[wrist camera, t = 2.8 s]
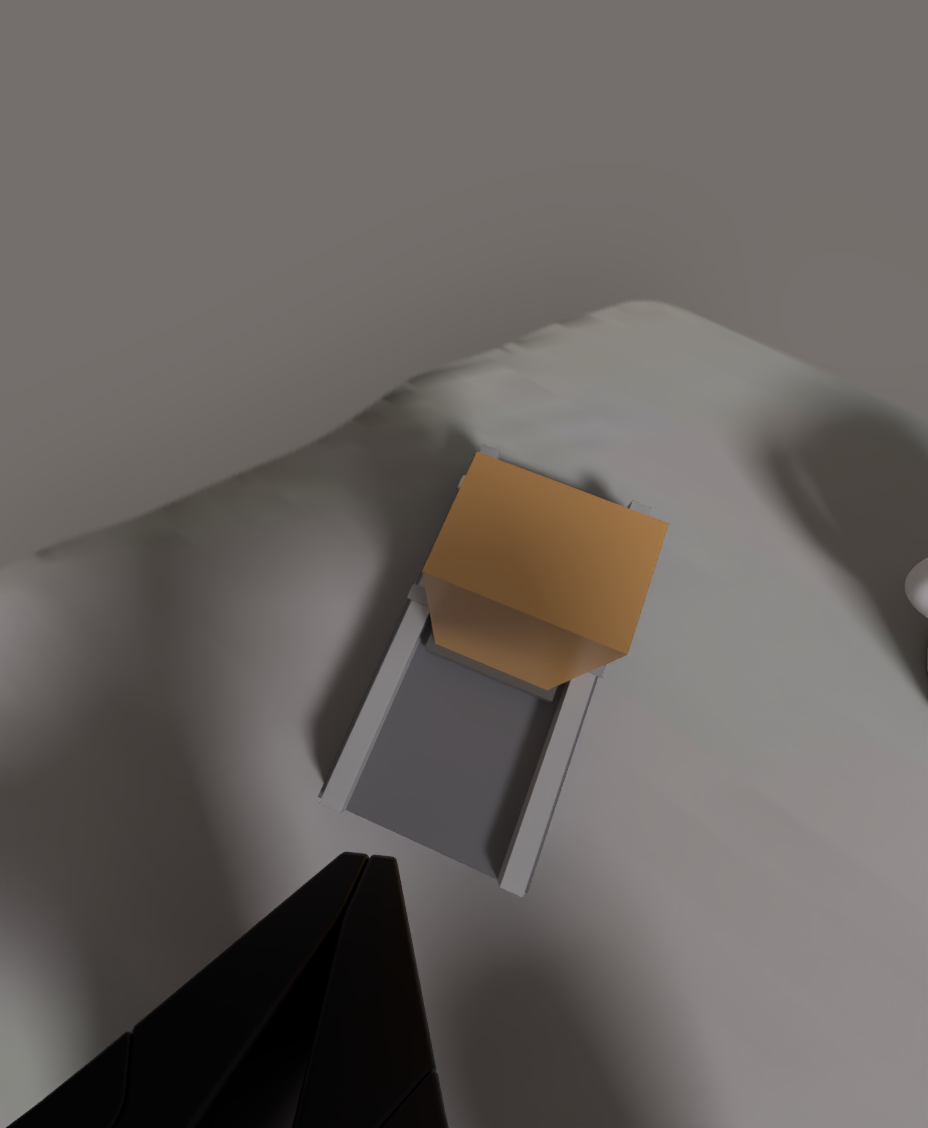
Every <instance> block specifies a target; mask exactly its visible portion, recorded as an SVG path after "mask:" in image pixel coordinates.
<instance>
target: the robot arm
mask: <svg viewBox="0 0 928 1128" xmlns="http://www.w3.org/2000/svg"><path fill="white" fill-rule="evenodd" d="M6 1128H449V1127H448V1123H447V1118H446V1114H445V1109H444V1104H443V1099H442V1093H441V1088H440V1083H439V1077H438V1074H437V1072H436V1065H435V1060H434V1055H433V1049H432V1044H431V1039H430V1033H429V1028H428V1023H427V1018H426V1012H425V1007H424V1002H423V996H422V991H421V986H420V981H419V975H418V970H417V965H416V959H415V954H414V949H413V944H412V938H411V933H410V928H409V922H408V917H407V912H406V907H405V901H404V896H403V891H402V885H401V880H400V875H399V870H398V864H397V860H396V858H394V857H391V856H382V855H372V856H371V857H370V858H369V857H368V855H367V854H363V853H354V852H343V853H342V854H340V855H339V856H338V857H336V858H335V859H334V860H333V861H332V862H330V863H329V864H328V865H327V866H326V867H324V868H323V869H322V870H321V871H320V872H318V873H317V874H316V875H315V876H314V877H312V878H311V879H310V880H309V881H308V882H306V883H305V884H304V885H303V886H302V887H300V888H299V889H298V890H297V891H296V892H295V893H293V894H292V895H291V896H290V897H289V898H287V899H286V900H285V901H284V902H283V903H281V904H280V905H279V906H278V907H277V908H275V909H274V910H273V911H272V912H271V913H269V914H268V915H267V916H266V917H265V918H263V919H262V920H261V921H260V922H259V923H257V924H256V925H255V926H254V927H253V928H251V929H250V930H249V931H248V932H247V933H245V934H244V935H243V936H242V937H241V938H239V939H238V940H237V941H236V942H235V943H233V944H232V945H231V946H230V947H229V948H227V949H226V950H225V951H224V952H223V953H221V954H220V955H219V956H218V957H217V958H215V959H214V960H213V961H212V962H211V963H209V964H208V965H207V966H206V967H205V968H203V969H202V970H201V971H200V972H199V973H197V974H196V975H195V976H194V977H193V978H191V979H190V980H189V981H188V982H187V983H185V984H184V985H183V986H182V987H181V988H180V989H178V990H177V991H176V992H175V993H174V994H172V995H171V996H170V997H169V998H168V999H166V1000H165V1001H164V1002H163V1003H162V1004H160V1005H159V1006H158V1007H157V1008H156V1009H154V1010H153V1011H152V1012H151V1013H150V1014H148V1015H147V1016H146V1017H145V1018H144V1019H142V1020H141V1021H140V1022H139V1023H138V1024H136V1025H135V1026H134V1028H133V1030H132V1034H131V1032H125V1033H124V1034H123V1035H122V1036H120V1037H119V1038H118V1039H117V1040H116V1041H114V1042H113V1043H112V1044H111V1045H110V1046H108V1047H107V1048H106V1049H105V1050H104V1051H102V1052H101V1053H100V1054H99V1055H98V1056H96V1057H95V1058H94V1059H93V1060H92V1061H90V1062H89V1063H88V1064H87V1065H85V1066H84V1067H83V1068H82V1069H80V1070H79V1071H78V1072H77V1073H75V1074H74V1075H73V1076H72V1077H70V1078H69V1079H68V1080H67V1081H65V1082H64V1083H63V1084H62V1085H60V1086H59V1087H58V1088H57V1089H55V1090H54V1091H53V1092H52V1093H50V1094H49V1095H48V1096H47V1097H45V1098H44V1099H43V1100H42V1101H40V1102H39V1103H38V1104H37V1105H35V1106H34V1107H33V1108H31V1109H30V1110H29V1111H27V1112H26V1113H25V1114H23V1115H22V1116H21V1117H19V1118H18V1119H17V1120H15V1121H14V1122H13V1123H11V1124H10V1125H9V1126H7V1127H6Z"/></svg>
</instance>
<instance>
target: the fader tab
mask: <svg viewBox="0 0 928 1128" xmlns="http://www.w3.org/2000/svg"><path fill="white" fill-rule="evenodd" d="M668 525H669V524H668V523H666V522H663V521H660V520H658V519H655V518H653V517H650V516H647V515H645V514H642V513H639V512H637V511H634V510H631V509H629V508H626V507H623V506H621V505H618V504H615V503H613V502H610V501H607V500H605V499H602V498H599V497H597V496H594V495H591V494H589V493H586V492H583V491H581V490H578V489H576V488H573V487H570V486H568V485H565V484H562V483H560V482H557V481H554V480H552V479H549V478H546V477H544V476H541V475H538V474H536V473H533V472H530V471H528V470H525V469H522V468H520V467H517V466H514V465H512V464H509V463H506V462H504V461H501V460H499V459H496V458H493V457H491V456H488V455H485V454H483V453H480V452H476V455H475V457H474V459H473V461H472V463H471V465H470V468H469V470H468V472H467V474H466V476H465V478H464V481H463V483H462V485H461V487H460V489H459V492H458V494H457V496H456V498H455V500H454V502H453V505H452V507H451V509H450V511H449V513H448V516H447V518H446V520H445V522H444V524H443V526H442V529H441V531H440V533H439V535H438V537H437V540H436V542H435V544H434V546H433V548H432V550H431V553H430V555H429V557H428V559H427V561H426V564H425V566H424V568H423V570H422V574H423V580H424V585H425V591H426V596H427V601H428V607H429V612H430V617H431V623H432V628H433V630H432V632H431V635H430V637H429V639H428V642H427V644H426V646H425V651H426V652H429V653H431V654H434V655H436V656H438V657H441V658H443V659H446V660H448V661H450V662H453V663H455V664H457V665H460V666H462V667H465V668H467V669H469V670H472V671H474V672H476V673H479V674H481V675H484V676H486V677H488V678H491V679H493V680H495V681H498V682H500V683H503V684H505V685H507V686H510V687H512V688H514V689H517V690H519V691H522V692H524V693H526V694H529V695H531V696H534V697H536V698H538V699H541V700H543V701H545V702H548V703H549V702H552V700H553V698H554V695H555V692H556V689H557V686H558V685H560V684H562V683H565V682H567V681H569V680H572V679H574V678H576V677H578V676H581V675H583V674H585V673H587V672H590V671H592V670H594V669H596V668H599V667H601V666H603V665H605V664H608V663H610V662H612V661H614V660H617V659H619V658H621V657H623V656H626V655H628V652H629V648H630V645H631V642H632V639H633V636H634V633H635V629H636V626H637V623H638V620H639V617H640V614H641V610H642V607H643V604H644V601H645V598H646V594H647V591H648V588H649V585H650V582H651V579H652V575H653V572H654V569H655V566H656V563H657V560H658V556H659V553H660V550H661V547H662V544H663V540H664V537H665V534H666V531H667V528H668Z"/></svg>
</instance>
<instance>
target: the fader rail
mask: <svg viewBox="0 0 928 1128" xmlns="http://www.w3.org/2000/svg"><path fill="white" fill-rule="evenodd" d="M480 453H483V454H485V455H488V456H491V457H493V458H496V459H499V457H500V450H497V449H494V448H492V447H489V446H486V445H484V444H483V445H482V447H481V449H480ZM475 455H476V454H475ZM475 455H474V457H475ZM473 459H474V458H473ZM472 461H473V460H472ZM471 463H472V462H471ZM470 465H471V464H470ZM469 468H470V466H469ZM469 468H468V470H469ZM467 472H468V471H467ZM466 474H467V473H466ZM465 476H466V475H463V476H462V478H461V480H460V483H459V485H458V487H457V488H458V489H460V487H461V485H462V483H463V481H464V478H465ZM458 492H459V490H458ZM458 492H457V494H458ZM456 496H457V495H456ZM455 498H456V497H455ZM454 500H455V499H454ZM453 502H454V501H453ZM452 505H453V503H452ZM451 507H452V506H451ZM627 508H629V509H631V510H634V511H637V512H639V513H642V514H645V515H647V516H649V513H650V510H651V507H649V506H646V505H644V504H641V503H638V502H636V501H633V500H632V502H631V503H630V504H629V506H628V507H627ZM450 509H451V508H450ZM449 511H450V510H449ZM448 513H449V512H448ZM447 516H448V514H447ZM447 516H446V518H447ZM445 520H446V519H445ZM444 522H445V521H444ZM443 524H444V523H443ZM442 526H443V525H442ZM441 529H442V527H441ZM441 529H440V531H441ZM439 533H440V532H439ZM438 535H439V534H438ZM437 537H438V536H437ZM436 540H437V538H436ZM436 540H435V542H436ZM434 544H435V543H434ZM433 546H434V545H433ZM432 548H433V547H432ZM431 550H432V549H431ZM430 553H431V551H430ZM430 553H429V555H430ZM428 557H429V556H428ZM427 559H428V558H427ZM426 561H427V560H426ZM425 564H426V562H425ZM425 564H424V566H425ZM423 568H424V567H423ZM422 570H423V569H422ZM407 598H408V601H407V604H406V606H405V608H404V610H403V612H402V614H401V617H400V619H399V621H398V623H397V625H396V628H395V630H394V632H393V634H392V636H391V638H390V641H389V643H388V645H387V647H386V649H385V652H384V654H383V656H382V658H381V660H380V662H379V665H378V667H377V669H376V671H375V673H374V676H373V678H372V680H371V682H370V684H369V686H368V689H367V691H366V693H365V695H364V697H363V699H362V702H361V704H360V706H359V708H358V710H357V713H356V715H355V717H354V719H353V721H352V723H351V726H350V728H349V730H348V732H347V734H346V737H345V739H344V741H343V743H342V745H341V747H340V750H339V752H338V754H337V756H336V758H335V761H334V763H333V765H332V767H331V769H330V771H329V774H328V776H327V778H326V780H325V782H324V784H323V787H322V789H321V791H320V793H319V795H318V797H319V798H321V800H320V802H319V804H320V805H322V806H324V807H327V808H329V809H331V810H333V811H335V812H338V813H342V812H343V811H344V810H348V811H350V812H352V813H354V814H356V815H359V816H361V817H363V818H365V819H367V820H370V821H372V822H374V823H376V824H378V825H380V826H383V827H385V828H387V829H389V830H391V831H393V832H396V833H398V834H400V835H402V836H404V837H407V838H409V839H411V840H413V841H415V842H417V843H420V844H422V845H424V846H426V847H428V848H430V849H433V850H435V851H437V852H439V853H441V854H444V855H446V856H448V857H450V858H452V859H454V860H457V861H459V862H461V863H463V864H465V865H468V866H470V867H472V868H474V869H476V870H478V871H481V872H483V873H485V874H487V875H489V876H491V877H494V878H496V879H497V880H498V883H499V886H500V888H502V889H505V890H507V891H509V892H511V893H513V894H515V895H518V896H520V897H522V898H523V896H524V893H525V892H526V893H527V892H528V889H529V886H530V883H531V880H532V877H533V874H534V871H535V868H536V865H537V862H538V859H539V855H540V852H541V849H542V846H543V843H544V840H545V837H546V834H547V831H548V828H549V825H550V822H551V819H552V816H553V813H554V810H555V807H556V804H557V801H558V798H559V794H560V791H561V788H562V785H563V782H564V779H565V776H566V773H567V770H568V767H569V764H570V761H571V758H572V755H573V752H574V749H575V746H576V743H577V740H578V737H579V733H580V730H581V727H582V724H583V721H584V718H585V715H586V712H587V709H588V706H589V703H590V700H591V697H592V694H593V691H594V688H595V685H596V682H597V679H598V677H600V678H602V676H603V673H604V670H605V667H606V664H605V665H603V666H601V667H599V668H596V669H594V670H592V671H590V672H587V673H585V674H583V675H581V676H578V677H576V678H574V679H572V680H569V681H567V682H565V683H562V684H560V685H558V686H557V689H556V692H555V695H554V698H553V700H552V702H549V703H548V702H545V701H543V700H541V699H538V698H536V697H534V696H531V695H529V694H526V693H524V692H522V691H519V690H517V689H514V688H512V687H510V686H507V685H505V684H503V683H500V682H498V681H495V680H493V679H491V678H488V677H486V676H484V675H481V674H479V673H476V672H474V671H472V670H469V669H467V668H465V667H462V666H460V665H457V664H455V663H453V662H450V661H448V660H446V659H443V658H441V657H438V656H436V655H434V654H431V653H429V652H426V651H425V646H426V644H427V642H428V639H429V637H430V635H431V632H432V630H433V628H432V623H431V617H430V612H429V607H428V601H427V596H426V591H425V585H424V580H423V574H422V571H421V573H420V575H419V577H418V580H417V582H416V584H414V583H413V585H412V587H411V589H410V591H409V593H408V596H407Z"/></svg>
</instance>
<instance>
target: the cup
mask: <svg viewBox="0 0 928 1128" xmlns="http://www.w3.org/2000/svg"><path fill="white" fill-rule="evenodd" d="M905 592H906V595H907V597H908V599H909V600H910V602H911V604H912V605H913V606H914V607H915V608H916V609H917V610H918V611H919V612H920V613H921V614H923V615H924V616H925V617H927V618H928V557H927V558H925V559H924V560H922V561H920V562H919V563H918V564H917V565H915V566H914V567H913V568H912V570H911V571H910V572H909V574H908V575H907V577H906V580H905ZM927 670H928V649H927Z"/></svg>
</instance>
